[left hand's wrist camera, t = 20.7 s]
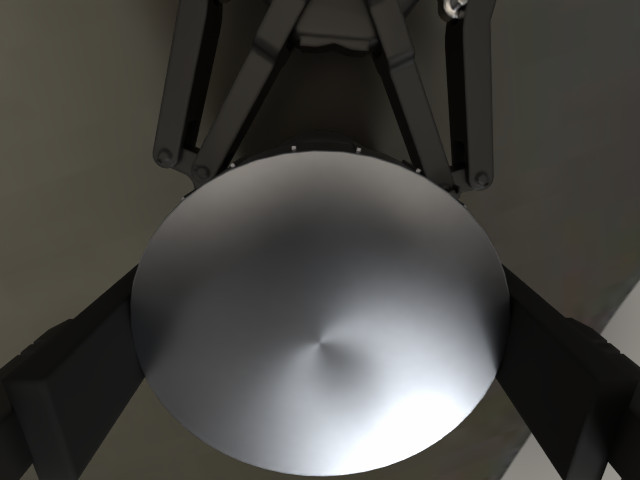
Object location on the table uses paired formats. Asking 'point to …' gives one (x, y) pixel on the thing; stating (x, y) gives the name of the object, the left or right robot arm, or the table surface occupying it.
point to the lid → (320, 310)
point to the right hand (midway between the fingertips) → (314, 295)
